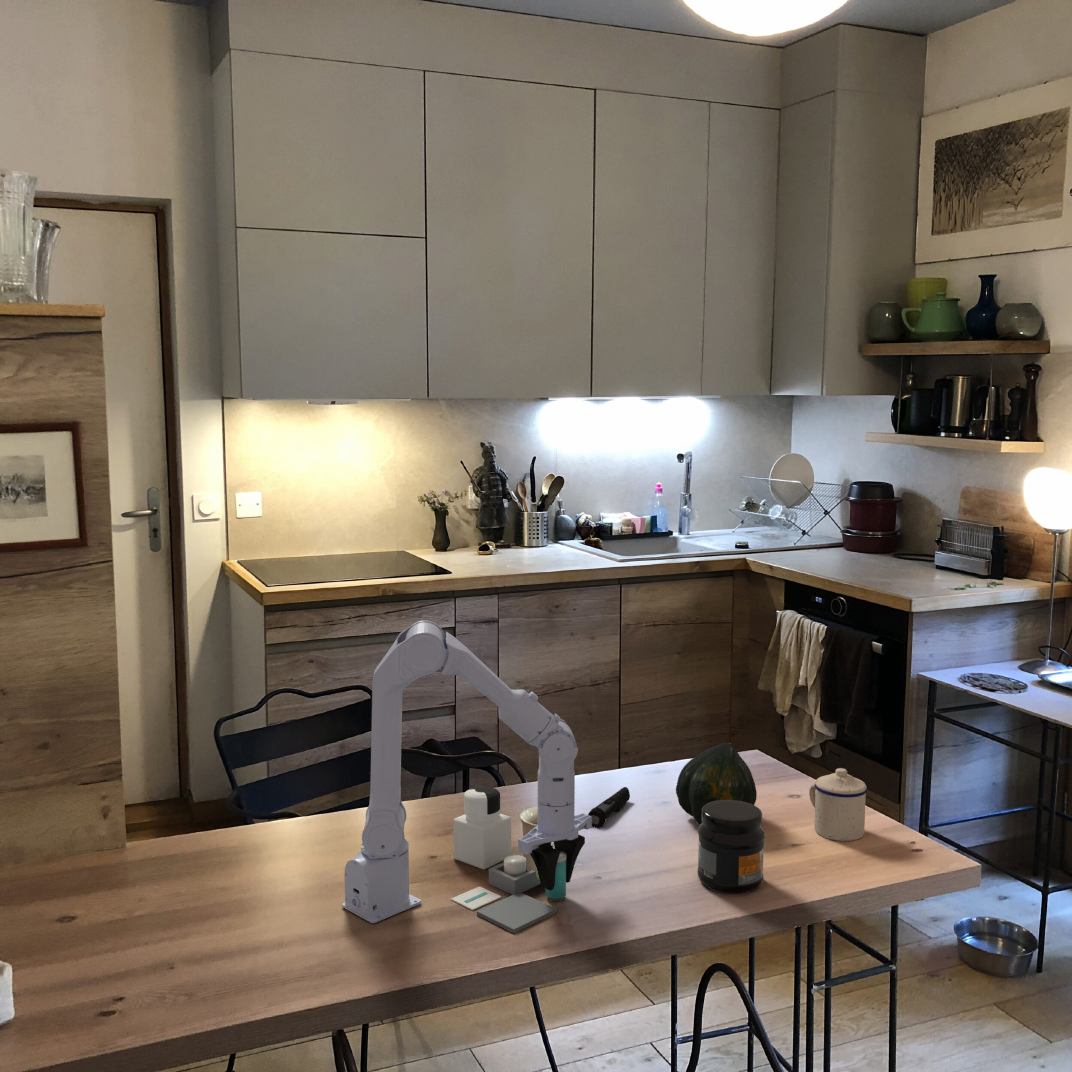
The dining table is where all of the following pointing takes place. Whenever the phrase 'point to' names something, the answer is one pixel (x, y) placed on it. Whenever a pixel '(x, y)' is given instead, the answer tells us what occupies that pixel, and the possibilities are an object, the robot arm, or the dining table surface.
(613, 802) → the electric trimmer
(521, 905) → the board
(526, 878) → the button box
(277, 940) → the dining table surface
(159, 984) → the dining table surface
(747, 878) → the supplement container
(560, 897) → the marker
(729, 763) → the squash
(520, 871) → the button
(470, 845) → the medicine bottle
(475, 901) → the card
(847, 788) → the teacup with lid
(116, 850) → the dining table surface
